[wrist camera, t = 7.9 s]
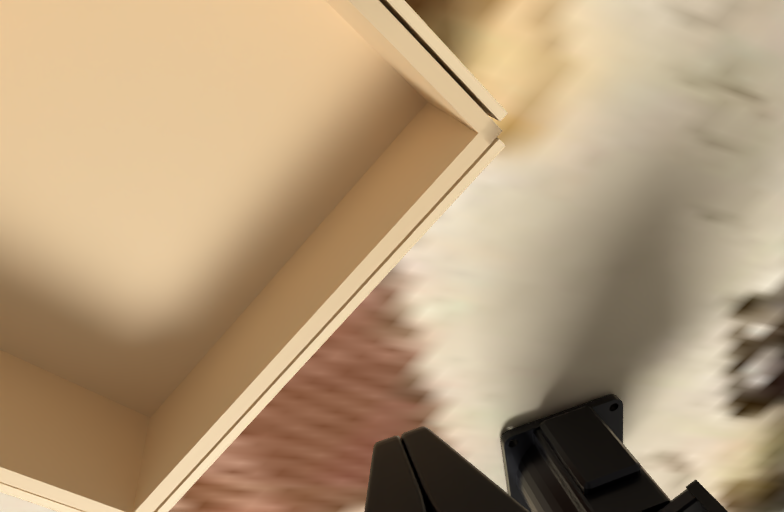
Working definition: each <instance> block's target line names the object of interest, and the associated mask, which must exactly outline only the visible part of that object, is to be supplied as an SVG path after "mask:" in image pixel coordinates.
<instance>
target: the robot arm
mask: <svg viewBox="0 0 784 512" xmlns="http://www.w3.org/2000/svg"><path fill="white" fill-rule="evenodd" d="M511 440H512V441H511ZM501 447H502V454H503V461H504V468H505V476H506V483H507V490H508V494H507V493H506V492H505V491H504V490H503V489H501V488H500V487H499V486H498V485H496V484H495V483H494V482H493V481H492V480H490V479H489V478H488V477H487V476H486V475H484V474H483V473H482V472H481V471H479V470H478V469H477V468H476V467H475V466H473V465H472V464H471V463H470V462H468V461H467V460H466V459H465V458H464V457H462V456H461V455H460V454H459V453H458V452H456V451H455V450H454V449H453V448H451V447H450V446H449V445H448V444H447V443H445V442H444V441H443V440H442V439H441V438H439V437H438V436H437V435H436V434H434V433H433V432H432V431H431V430H430V429H428V428H427V427H419V428H416V429H413V430H411V431H408V432H405V433H403V434H402V436H401V438H400V437H399V436H393V437H390V438H388V439H385V440H382V441H379V442H377V443H376V444H375V445H374V448H373V455H372V462H371V469H370V476H369V483H368V490H367V497H366V504H365V511H364V512H728V511H727V510H726V509H725V508H724V507H723V506H722V505H721V504H720V503H719V502H718V501H717V500H716V499H715V498H714V497H713V496H712V495H711V494H710V493H709V492H708V491H707V490H706V489H705V488H704V487H703V486H702V485H701V484H700V483H699V482H698V481H697V480H694V481H693V482H692V483H690V484H689V485H688V486H686V488H687V489H686V490H685V491H684V492H682V493H681V494H680V495H678V496H677V497H675V498H674V499H673V500H670V499H669V498H668V496H667V495H666V494H665V493H664V492H663V491H662V489H661V488H660V487H659V486H658V485H657V484H656V482H655V481H654V480H653V479H652V478H651V476H650V475H649V474H648V473H647V472H646V471H645V469H644V468H643V467H642V466H641V465H640V463H639V462H638V461H637V460H636V459H635V458H634V456H633V455H632V454H631V453H630V452H629V450H628V449H627V448H626V447H625V446H624V445H623V403H622V401H621V400H620V399H619V398H618V397H617V396H616V395H614V394H611V395H607V396H605V397H602V398H599V399H596V400H593V401H590V402H588V403H585V404H582V405H579V406H576V407H574V408H571V409H568V410H565V411H562V412H559V413H557V414H554V415H551V416H548V417H545V418H543V419H540V420H537V421H534V422H531V423H528V424H526V425H523V426H520V427H517V428H514V429H512V430H509V431H507V432H505V433H504V434H503V435H502V437H501Z"/></svg>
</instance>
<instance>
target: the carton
mask: <svg viewBox="0 0 784 512" xmlns="http://www.w3.org/2000/svg"><path fill="white" fill-rule="evenodd" d="M488 115H489V116H491V117H493V118H495V119H497V120H499V121H501V120H502V119H503V118H504V117H505V116H506V115H507V111H506V110H505V109H504V108H503V107H502V106H501V105H500V104H499V103H498V102H497V101H496V99H495V98H494V97H493V96H492V95H491V94H490V93H489V92H488V91H487V90H486V89H485V87H484V86H483V85H482V84H481V83H480V82H479V81H478V80H477V79H476V78H475V77H474V75H473V74H472V73H471V72H470V71H469V70H468V69H467V68H466V67H465V66H464V65H463V64H462V62H461V61H460V60H459V59H458V58H457V57H456V56H455V55H454V54H453V53H452V52H451V50H450V49H449V48H448V47H447V46H446V45H445V44H444V43H443V42H442V41H441V40H440V38H439V37H438V36H437V35H436V34H435V33H434V32H433V31H432V30H431V29H430V28H429V27H428V25H427V24H426V23H425V22H424V21H423V20H422V19H421V18H420V17H419V16H418V15H417V13H416V12H415V11H414V10H413V9H412V8H411V7H410V6H409V5H408V4H407V3H406V1H405V0H0V492H2V493H5V494H8V495H11V496H14V497H17V498H19V499H22V500H25V501H28V502H31V503H34V504H37V505H40V506H43V507H46V508H49V509H52V510H55V511H58V512H168V511H169V510H170V509H171V508H172V507H173V506H174V505H175V504H176V503H177V502H178V500H179V499H180V498H181V497H182V496H183V495H184V494H185V493H186V492H187V491H188V490H189V489H190V487H191V486H192V485H193V484H194V483H195V482H196V481H197V480H198V479H199V478H200V477H201V476H202V474H203V473H204V472H205V471H206V470H207V469H208V468H209V467H210V466H211V465H212V464H213V463H214V461H215V460H216V459H217V458H218V457H219V456H220V455H221V454H222V453H223V452H224V451H225V450H226V448H227V447H228V446H229V445H230V444H231V443H232V442H233V441H234V440H235V439H236V438H237V437H238V435H239V434H240V433H241V432H242V431H243V430H244V429H245V428H246V427H247V426H248V425H249V423H250V422H251V421H252V420H253V419H254V418H255V417H256V416H257V415H258V414H259V413H260V412H261V410H262V409H263V408H264V407H265V406H266V405H267V404H268V403H269V402H270V401H271V400H272V399H273V397H274V396H275V395H276V394H277V393H278V392H279V391H280V390H281V389H282V388H283V387H284V386H285V384H286V383H287V382H288V381H289V380H290V379H291V378H292V377H293V376H294V375H295V374H296V373H297V371H298V370H299V369H300V368H301V367H302V366H303V365H304V364H305V363H306V362H307V361H308V360H309V358H310V357H311V356H312V355H313V354H314V353H315V352H316V351H317V350H318V349H319V348H320V347H321V345H322V344H323V343H324V342H325V341H326V340H327V339H328V338H329V337H330V336H331V335H332V334H333V332H334V331H335V330H336V329H337V328H338V327H339V326H340V325H341V324H342V323H343V322H344V321H345V319H346V318H347V317H348V316H349V315H350V314H351V313H352V312H353V311H354V310H355V309H356V308H357V306H358V305H359V304H360V303H361V302H362V301H363V300H364V299H365V298H366V297H367V296H368V295H369V293H370V292H371V291H372V290H373V289H374V288H375V287H376V286H377V285H378V284H379V283H380V282H381V280H382V279H383V278H384V277H385V276H386V275H387V274H388V273H389V272H390V271H391V270H392V269H393V267H394V266H395V265H396V264H397V263H398V262H399V261H400V260H401V259H402V258H403V257H404V255H405V254H406V253H407V252H408V251H409V250H410V249H411V248H412V247H413V246H414V245H415V244H416V242H417V241H418V240H419V239H420V238H421V237H422V236H423V235H424V234H425V233H426V232H427V231H428V229H429V228H430V227H431V226H432V225H433V224H434V223H435V222H436V221H437V220H438V219H439V218H440V216H441V215H442V214H443V213H444V212H445V211H446V210H447V209H448V208H449V207H450V206H451V205H452V203H453V202H454V201H455V200H456V199H457V198H458V197H459V196H460V195H461V194H462V193H463V192H464V190H465V189H466V188H467V187H468V186H469V185H470V184H471V183H472V182H473V181H474V180H475V179H476V177H477V176H478V175H479V174H480V173H481V172H482V171H483V170H484V169H485V168H486V167H487V166H488V164H489V163H490V162H491V161H492V160H493V159H494V158H495V157H496V156H497V155H498V154H499V153H500V151H501V150H502V149H503V148H504V147H505V144H504V143H503V142H502V141H501V140H500V139H498V138H497V136H498V135H499V134H500V133H501V132H502V130H501V129H500V128H499V127H498V126H497V125H496V124H495V122H494V121H493V120H492V119H491V118H490V117H489V116H488Z"/></svg>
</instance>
